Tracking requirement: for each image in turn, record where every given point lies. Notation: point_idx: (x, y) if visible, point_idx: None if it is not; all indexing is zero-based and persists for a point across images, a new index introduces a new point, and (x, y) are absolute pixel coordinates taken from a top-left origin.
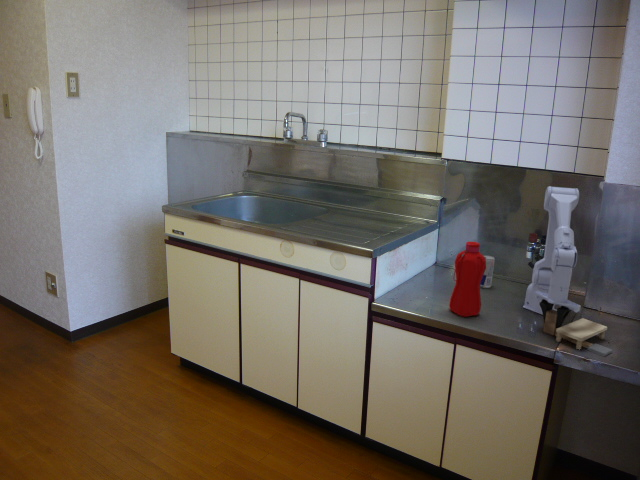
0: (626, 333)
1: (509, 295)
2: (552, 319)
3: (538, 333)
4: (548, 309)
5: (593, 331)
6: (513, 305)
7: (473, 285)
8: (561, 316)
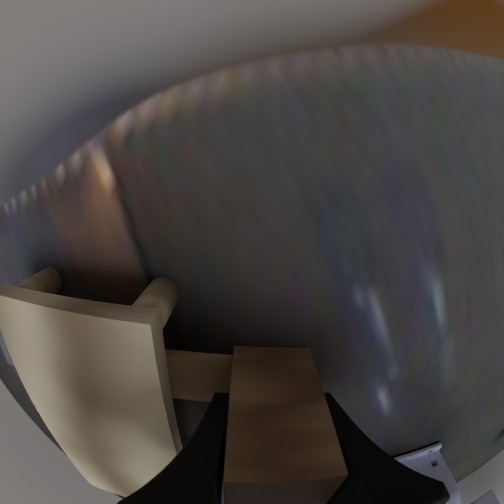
0: None
1: (469, 450)
2: (263, 433)
3: (318, 296)
4: (342, 497)
5: (55, 431)
6: (465, 425)
7: None
8: (160, 475)
